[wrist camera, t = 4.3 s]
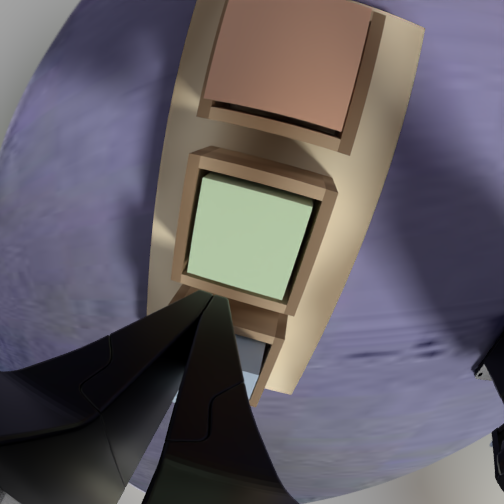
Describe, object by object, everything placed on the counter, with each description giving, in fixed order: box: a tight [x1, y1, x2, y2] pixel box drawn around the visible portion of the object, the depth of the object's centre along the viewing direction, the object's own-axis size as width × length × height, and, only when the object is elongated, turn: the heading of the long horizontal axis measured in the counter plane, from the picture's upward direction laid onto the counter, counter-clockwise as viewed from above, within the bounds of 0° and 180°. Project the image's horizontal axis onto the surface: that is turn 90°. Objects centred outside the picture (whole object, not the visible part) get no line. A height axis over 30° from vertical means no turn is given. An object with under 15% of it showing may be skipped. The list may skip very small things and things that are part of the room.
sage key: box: [187, 171, 313, 300], centre depth 14 cm, size 4×4×3 cm
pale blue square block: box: [172, 334, 266, 402], centre depth 16 cm, size 4×4×3 cm
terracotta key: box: [204, 0, 372, 132], centre depth 9 cm, size 4×4×3 cm
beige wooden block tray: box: [147, 0, 425, 407], centre depth 15 cm, size 11×24×5 cm, turn 167°
